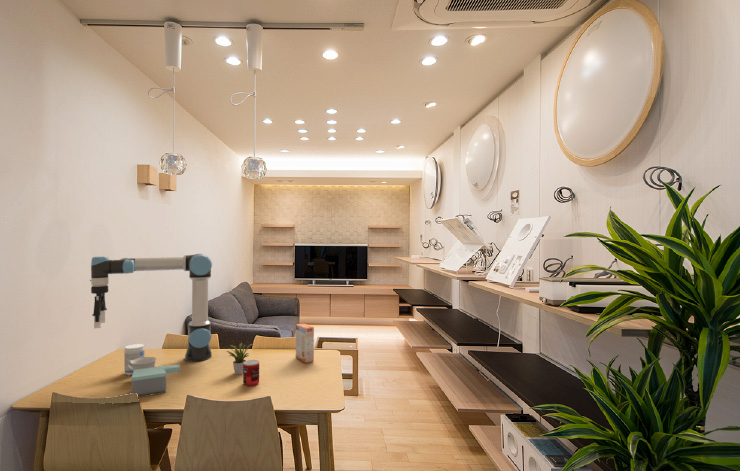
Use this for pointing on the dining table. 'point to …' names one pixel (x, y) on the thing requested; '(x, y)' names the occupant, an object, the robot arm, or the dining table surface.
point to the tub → (149, 386)
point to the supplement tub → (132, 355)
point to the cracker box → (305, 342)
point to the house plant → (239, 358)
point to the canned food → (251, 372)
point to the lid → (154, 372)
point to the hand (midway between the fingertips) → (99, 325)
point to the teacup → (142, 363)
